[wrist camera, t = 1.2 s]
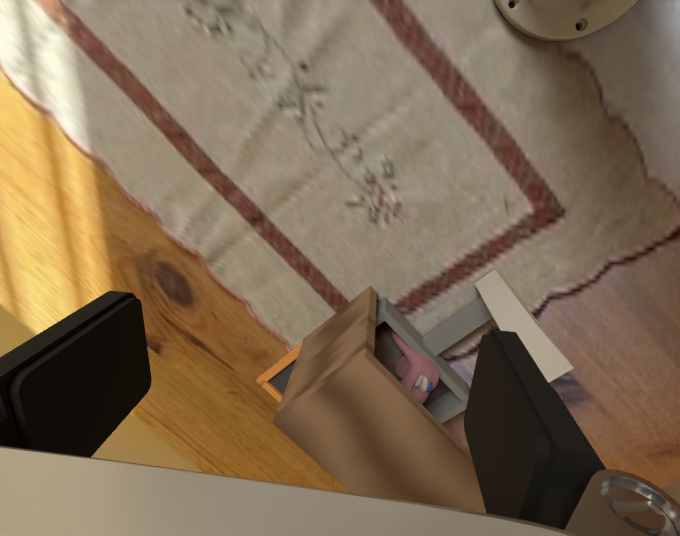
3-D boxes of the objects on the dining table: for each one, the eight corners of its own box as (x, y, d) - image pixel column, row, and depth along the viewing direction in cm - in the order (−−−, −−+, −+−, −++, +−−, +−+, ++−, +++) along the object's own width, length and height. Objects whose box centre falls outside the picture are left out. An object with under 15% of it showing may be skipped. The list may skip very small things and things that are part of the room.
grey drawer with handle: (466, 235, 38) (496, 277, 27) (550, 335, 40) (607, 407, 30) (316, 350, 44) (296, 419, 34) (398, 429, 47) (402, 516, 36)
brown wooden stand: (370, 286, 41) (364, 356, 29) (478, 399, 44) (514, 506, 32) (304, 338, 44) (272, 422, 32) (409, 441, 47) (418, 552, 35)
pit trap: (302, 342, 44) (301, 345, 43) (403, 439, 47) (403, 444, 47) (258, 377, 46) (256, 381, 46) (357, 467, 50) (356, 472, 49)
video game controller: (373, 391, 47) (396, 443, 42) (343, 384, 45) (363, 439, 39) (423, 333, 44) (455, 381, 38) (393, 322, 41) (423, 373, 36)
